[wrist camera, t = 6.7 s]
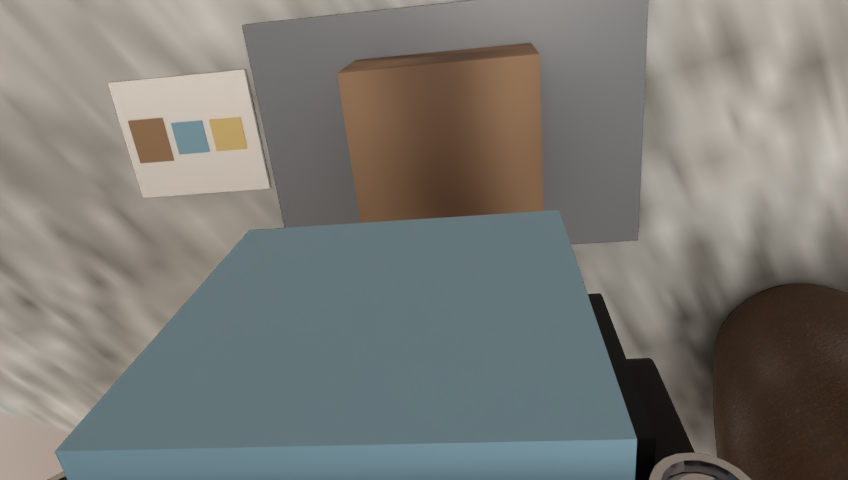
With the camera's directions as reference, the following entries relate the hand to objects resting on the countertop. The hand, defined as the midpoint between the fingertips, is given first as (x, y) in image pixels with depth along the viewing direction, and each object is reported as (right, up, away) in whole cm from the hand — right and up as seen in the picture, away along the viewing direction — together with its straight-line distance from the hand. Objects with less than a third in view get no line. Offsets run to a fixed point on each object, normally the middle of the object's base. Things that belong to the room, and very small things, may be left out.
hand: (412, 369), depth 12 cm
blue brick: (0, 0, +1) cm, 1 cm away
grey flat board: (+2, +8, +17) cm, 19 cm away
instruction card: (-11, +8, +18) cm, 23 cm away
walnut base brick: (+1, +8, +17) cm, 18 cm away
